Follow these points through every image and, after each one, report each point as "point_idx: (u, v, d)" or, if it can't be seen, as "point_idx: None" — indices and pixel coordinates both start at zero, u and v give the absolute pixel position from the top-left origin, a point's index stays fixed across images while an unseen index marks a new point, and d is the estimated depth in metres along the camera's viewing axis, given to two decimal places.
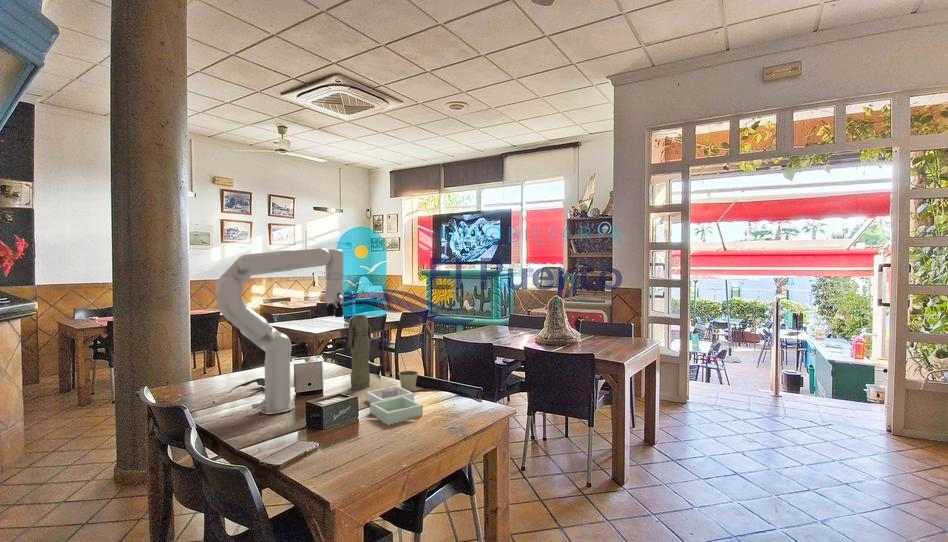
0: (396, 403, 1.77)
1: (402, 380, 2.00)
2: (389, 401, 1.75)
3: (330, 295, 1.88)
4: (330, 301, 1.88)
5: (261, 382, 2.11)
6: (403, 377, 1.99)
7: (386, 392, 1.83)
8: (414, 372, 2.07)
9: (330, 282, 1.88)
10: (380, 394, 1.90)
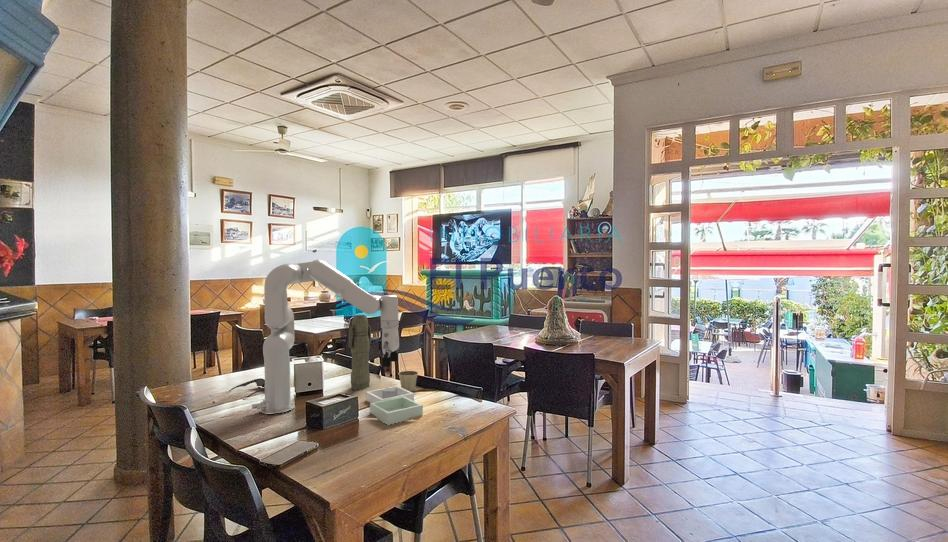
0: (396, 403, 1.77)
1: (402, 380, 2.00)
2: (389, 401, 1.75)
3: (397, 341, 1.88)
4: (398, 347, 1.88)
5: (259, 383, 2.10)
6: (403, 377, 1.99)
7: (386, 392, 1.83)
8: (414, 372, 2.07)
9: (397, 328, 1.87)
10: (380, 394, 1.90)
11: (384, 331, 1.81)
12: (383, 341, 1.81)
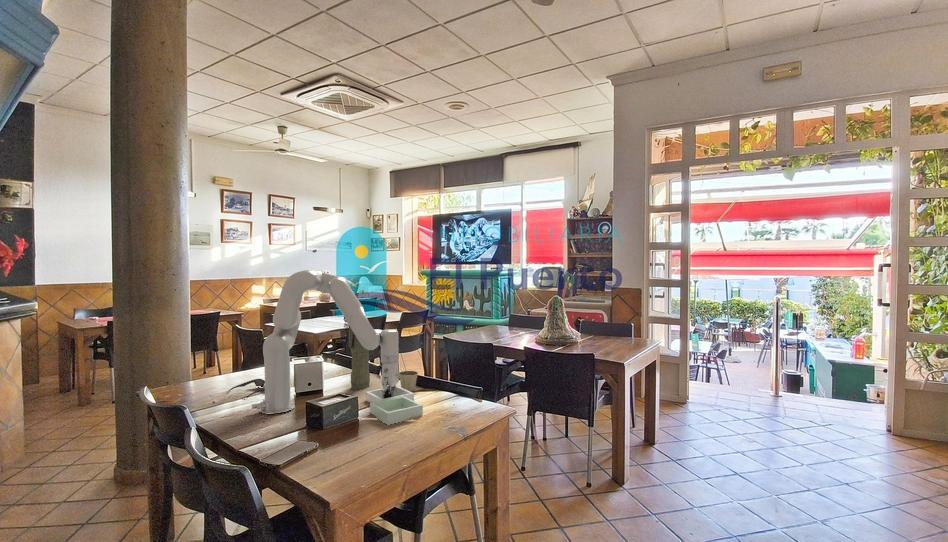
0: (396, 403, 1.77)
1: (402, 380, 2.00)
2: (389, 401, 1.75)
3: (397, 375, 1.88)
4: (397, 381, 1.88)
5: (258, 383, 2.10)
6: (403, 377, 1.99)
7: None
8: (414, 372, 2.07)
9: (397, 362, 1.87)
10: (380, 394, 1.90)
11: (384, 366, 1.81)
12: (383, 376, 1.81)
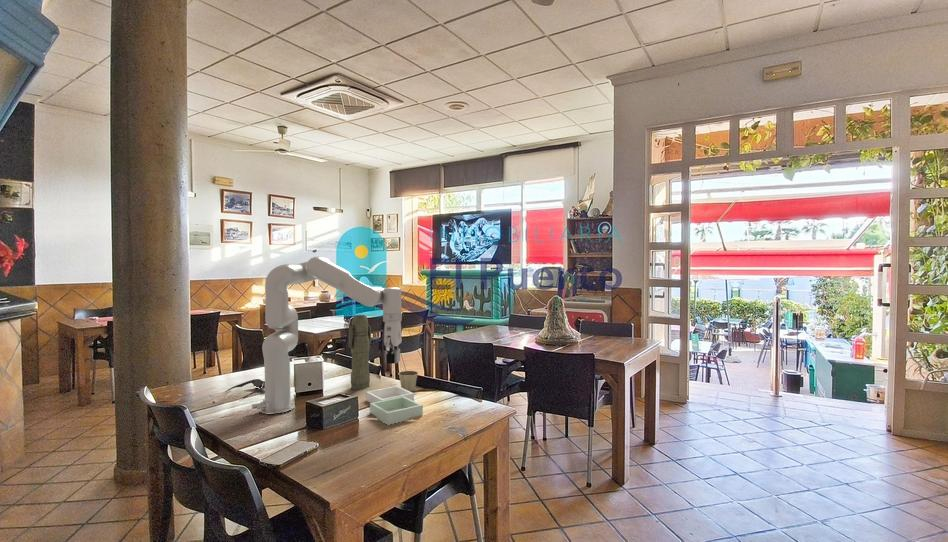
0: (396, 403, 1.77)
1: (402, 380, 2.00)
2: (389, 401, 1.75)
3: (400, 335, 1.80)
4: (400, 342, 1.80)
5: (256, 383, 2.09)
6: (403, 377, 1.99)
7: None
8: (414, 372, 2.07)
9: (399, 322, 1.80)
10: (380, 394, 1.90)
11: (387, 325, 1.74)
12: (386, 335, 1.73)
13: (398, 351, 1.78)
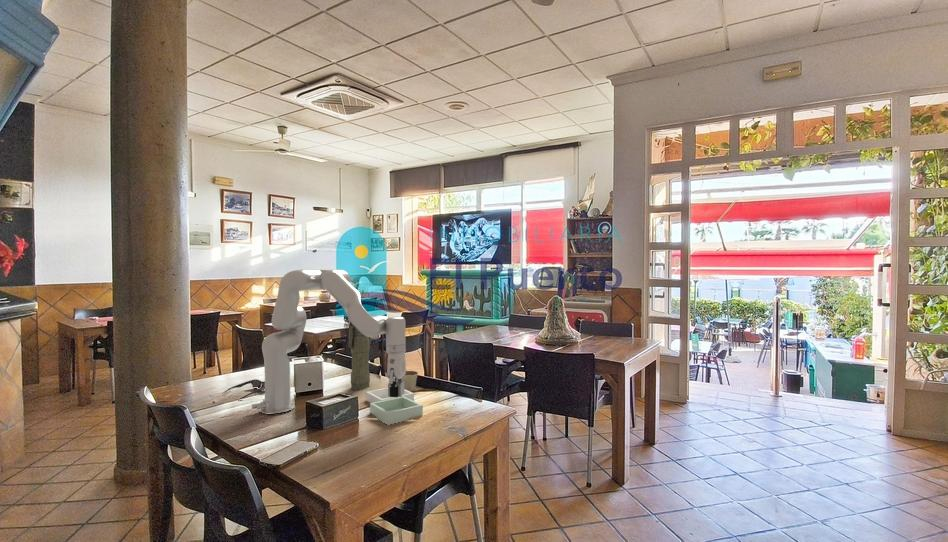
0: (396, 403, 1.77)
1: None
2: (389, 401, 1.75)
3: (404, 367, 1.72)
4: (404, 373, 1.72)
5: (255, 384, 2.08)
6: (403, 377, 1.99)
7: None
8: (414, 372, 2.07)
9: (403, 352, 1.71)
10: (380, 394, 1.90)
11: (390, 357, 1.65)
12: (389, 368, 1.65)
13: (402, 384, 1.69)
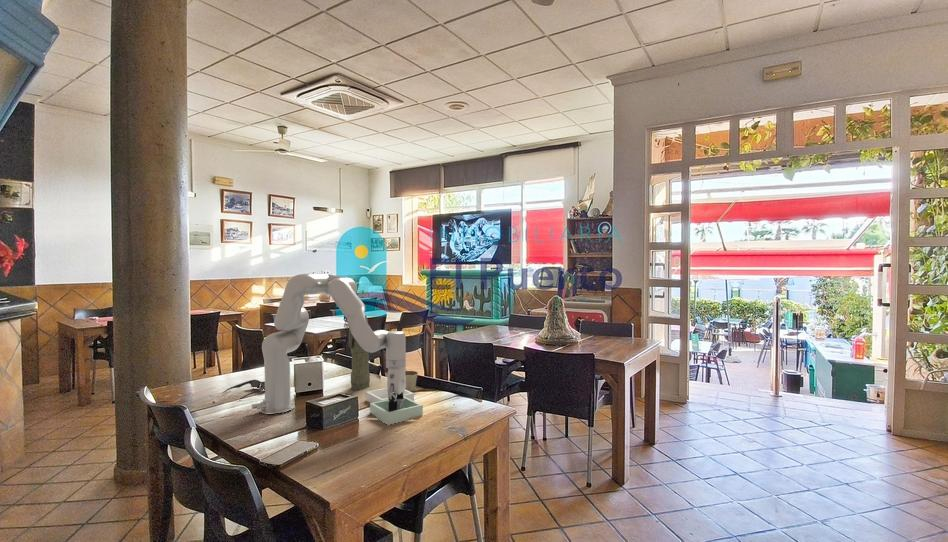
0: None
1: None
2: None
3: (404, 381, 1.72)
4: (404, 388, 1.72)
5: (254, 384, 2.08)
6: None
7: None
8: (414, 372, 2.07)
9: (404, 367, 1.71)
10: (380, 394, 1.90)
11: (390, 372, 1.65)
12: (389, 383, 1.65)
13: (402, 402, 1.69)
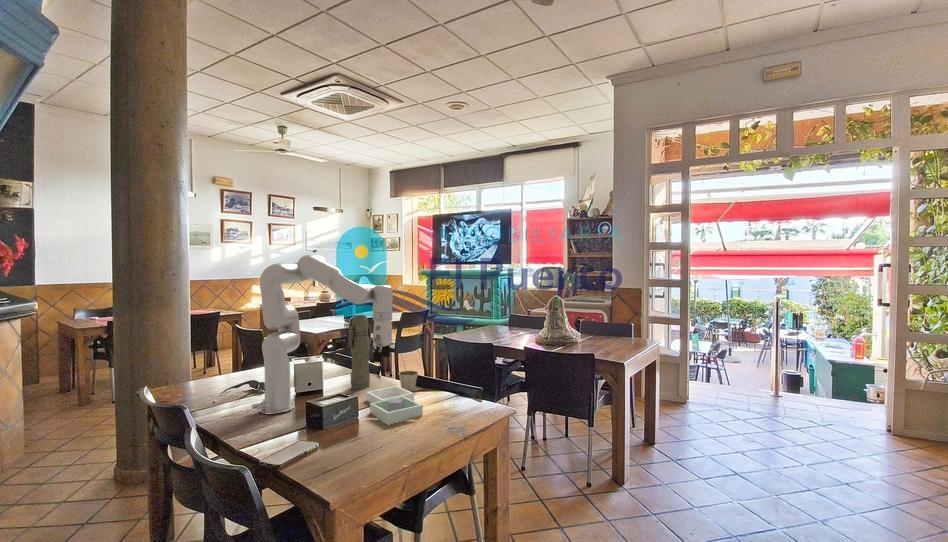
0: None
1: (402, 380, 2.00)
2: None
3: (390, 335, 1.74)
4: (390, 341, 1.74)
5: (252, 384, 2.07)
6: (403, 377, 1.99)
7: (392, 404, 1.67)
8: (414, 372, 2.07)
9: (390, 321, 1.74)
10: (380, 394, 1.90)
11: (376, 324, 1.68)
12: (374, 334, 1.67)
13: (402, 402, 1.69)
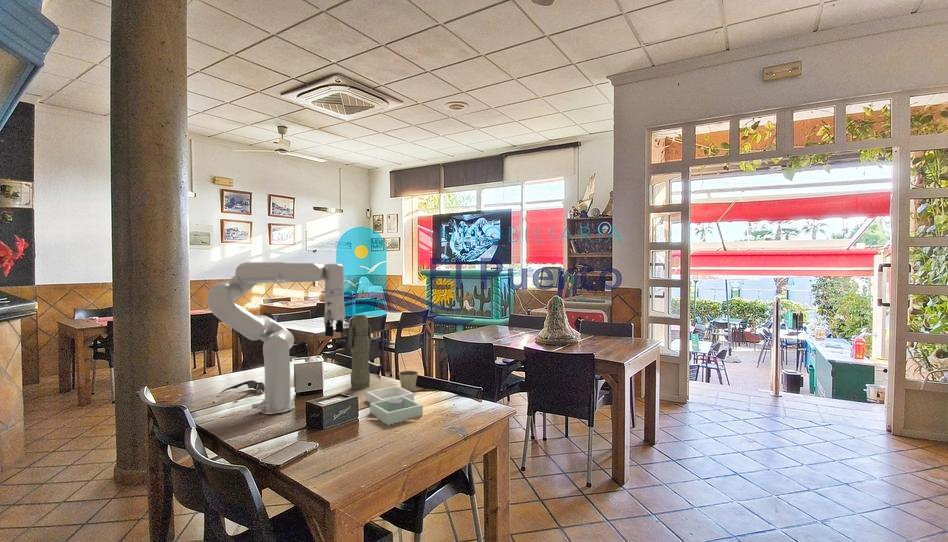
0: None
1: (402, 380, 2.00)
2: None
3: (343, 311, 1.83)
4: (343, 317, 1.83)
5: (251, 385, 2.06)
6: (403, 377, 1.99)
7: (392, 404, 1.67)
8: (414, 372, 2.07)
9: (342, 297, 1.83)
10: (380, 394, 1.90)
11: (327, 300, 1.77)
12: (326, 310, 1.77)
13: (402, 402, 1.69)
